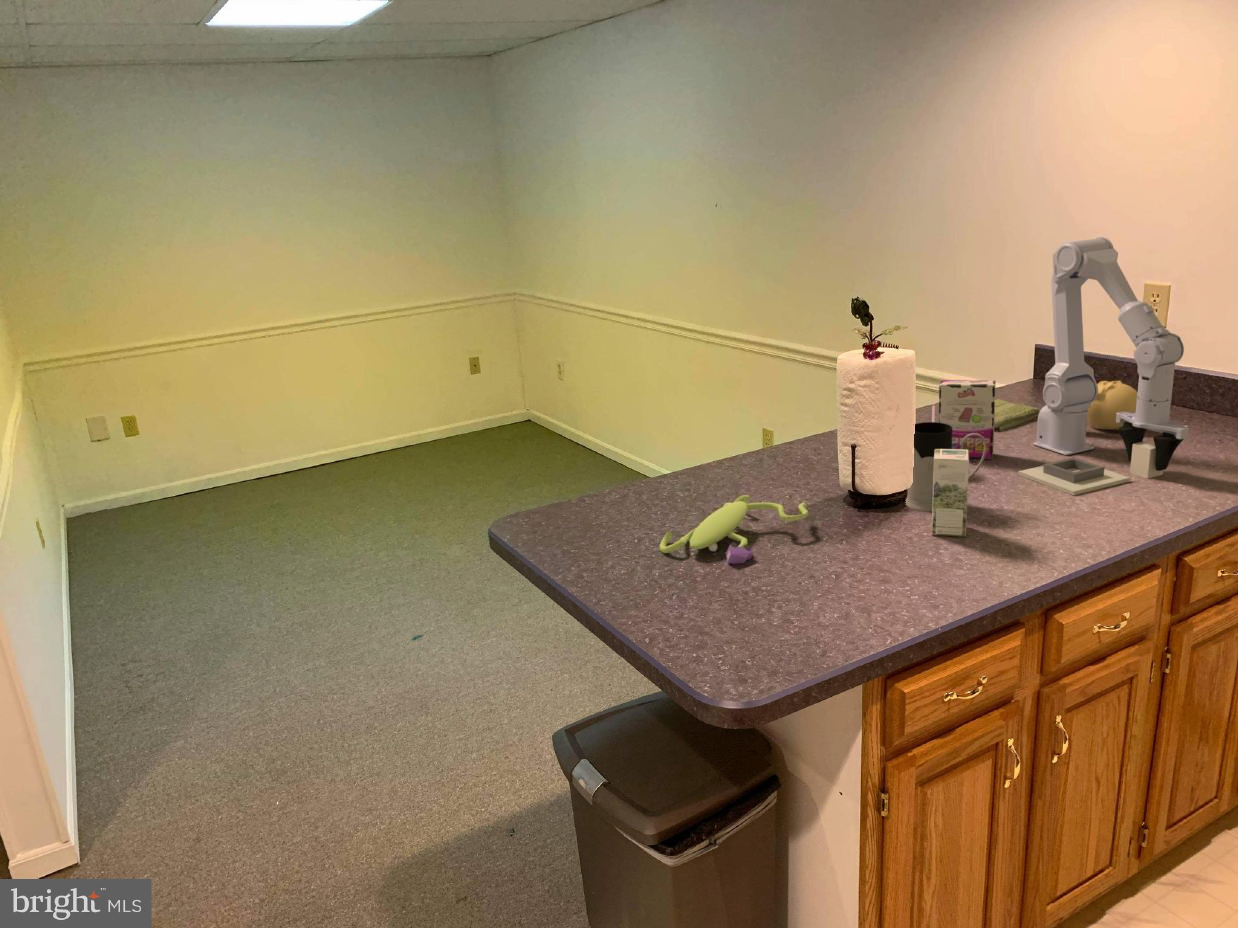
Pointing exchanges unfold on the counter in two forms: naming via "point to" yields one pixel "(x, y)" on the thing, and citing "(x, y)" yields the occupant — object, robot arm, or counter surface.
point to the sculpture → (1111, 404)
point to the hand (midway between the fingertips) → (1147, 465)
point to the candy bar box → (969, 414)
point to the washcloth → (1012, 414)
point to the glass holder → (930, 461)
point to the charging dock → (1074, 476)
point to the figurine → (727, 529)
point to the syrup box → (950, 492)
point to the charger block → (1144, 460)
